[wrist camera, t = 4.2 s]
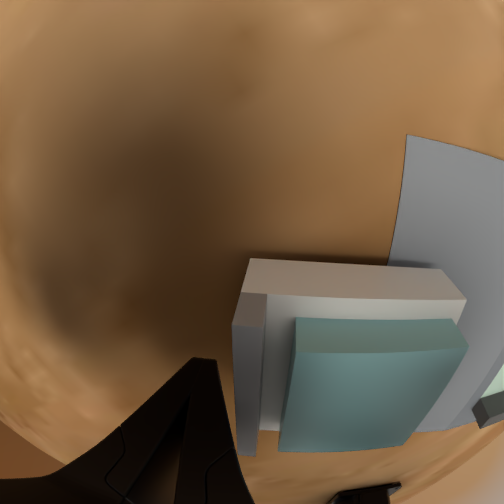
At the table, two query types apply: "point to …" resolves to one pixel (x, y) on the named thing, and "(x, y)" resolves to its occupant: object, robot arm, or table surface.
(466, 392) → the dock
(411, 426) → the box with teal panel
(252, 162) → the table surface
